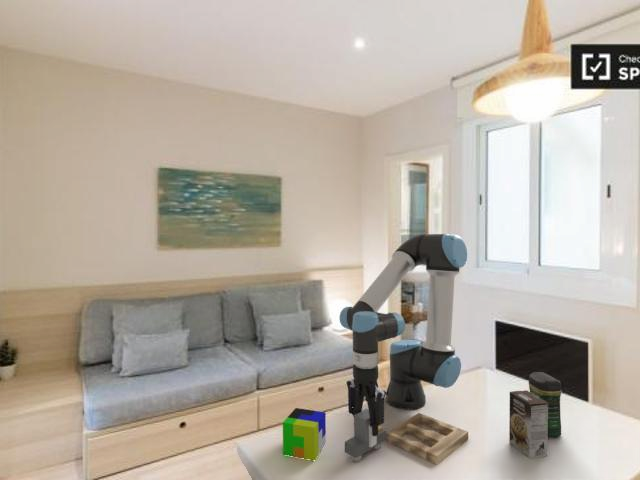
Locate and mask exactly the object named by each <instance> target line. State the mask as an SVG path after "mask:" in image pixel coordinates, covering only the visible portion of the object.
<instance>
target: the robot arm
mask: <svg viewBox="0 0 640 480" xmlns="http://www.w3.org/2000/svg"><path fill="white" fill-rule="evenodd" d="M391 258H392V259H391V260H390V261H389V263H388V264H386V266H385V268H384V269H382V271H381V272H380V274H378V276H377V277H376V278H375V279H374V281H372V283H371V284H370V286H369V287H368V288H367V289H366V290H365V292H364V293H363V294H362V295H361V296H360V298H359V299H358V300H357V302H356V303H355V304H354V305H353V306H345V307H343V308H342V310H341V311H340V313H339V322H340V325H341V327H343V328H344V329H348V330H350V331H352V376H353V378H351V379H349V380H346V385H347V386H346V387H347V393H348V394H347V398H348V399H347V400H348V402H347V403H348V405H347V406H348V407H347V408H348V413H349V414H352V416H353V418H354V415H355V414H357V413H359V412H361V411H363V405H364V399H365V401H366V403H367V408H368V409H367V410H369V415H370V421H371V424H369V447H373V446H374V445H376V444H377V435H378V426H380V425H382V424H384V423H385V401H386V403H387V404H388V405H390V406H392V407H394V408H397V409H402V410H416V409H417V410H418V409H420V408H422V407H423V408H424V406H425V405H426V402H427V401H426V397H427V396H426V394H425V392H424V387H423V384H422V382H425V383H427V384H431V385H434V386H435V387H441V388H445V389H447V388H448V389H449V388H450V387H452V386H453V385H454V384H455V383H456V382H457V380H458V379H459V377H460V374H461V370H462V361H461V358H460V357H459V356H458V355H456V348H455V347H454V345H453V344H452V332H453V331H452V330H453V329H452V328H453V314H454V313H453V312H454V294H455V293H454V292H455V291H454V289H455V278H456V276H457V275H459V273H460V268H462V267H464V266H465V265H466V264H467V263H466V262H467V261H468V250H467V246H466V243H465V241H464V240H463V238H462V237H461V236H459V235H457V234H453V233H452V234H451V233H450V234H448V233H436V234H435V233H429V234H428V233H421V234H416V235H414V236H412V237H410V238H409V239H407V240H406V241H405V242H403V243H402V244H401V245H400V246H398V248H396V250H395V251H394V252H393V253H392V255H391ZM421 265H422V266H423V265H425V270H426V272H427V273H428V274H429V288H428V302H427V303H428V304H427V319H426V337H425V340H424V341H423V343H421V341H420V340H417V339H402V340H397V341H394V342H392V343H391V345H390V347H389V349H390V351H389V382H388V384H387V385H388V386H387V389H386V390H382V389H381V388H380V387H379V385H378V379H379V342H382V341H386V340H389V339H394V338H396V337H398V336H401V335H402V334H404V331H405V329H406V323H405V319H404V318H403V316H402V315H401V314H400V313H398V312H388V313H381V312H379V311H380V309H381V308H382V306H383V305H384V304H385V303H386V301H387V300H388V299H389V297H390V296H391V295H392V293H394V291H395V290H396V289H397V287H398V286H399V284H400V283H401V282H402V280H403V279H404V278H405V277H406V275H407V274H408V273H409V272H412V271H414V270H415V269H416V267H418V266H421Z"/></svg>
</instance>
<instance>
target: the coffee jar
mask: <svg viewBox="0 0 640 480" xmlns="http://www.w3.org/2000/svg"><path fill="white" fill-rule="evenodd" d="M528 387H529V388H528V389H529V392H530V393H532V394H534V395H536V396H537V397H539V398H541V399H543V400H544V401H546V402H548V434H547V438H550V439H555V438H558V437H561V435H562V421H561V395H562V391H563V390H562V383H561V381H560V380H558V379H556V378H555V377H553V376H551V375H549V374H547V373H545V372H543V371H541V372H540V371H538V372H537V371H535V372H534V371H533V372H531V373H530V374H529V378H528Z"/></svg>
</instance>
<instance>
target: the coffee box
mask: <svg viewBox="0 0 640 480" xmlns="http://www.w3.org/2000/svg"><path fill="white" fill-rule="evenodd" d="M508 434H509V438H508V439H509V444H510V445H512V446H514V448H515V449H517V450H518V451H519V452H521V453H523V455H525V456H526V457H527V458H529V459H536V458H542V457H548V437H547V434H548V402H546V401H544V400H543V399H541V398H539V397H537V396H536V395H534V394H532V393H530V390H515V391H514V390H513V391H509V433H508Z"/></svg>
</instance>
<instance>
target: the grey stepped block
mask: <svg viewBox="0 0 640 480" xmlns="http://www.w3.org/2000/svg"><path fill="white" fill-rule="evenodd" d="M369 424H371V421H370V415H369V410H368V409H367V408H366V409H364V410H363V409H362V411H361V412H359V413H357V414H355V415H354V417H353V430H354V431H353V433H354V434H353V437H351V438H349V439H347V440H346V441H344V452H345V454H347V455H349V456H350V460H351V459H352V460H354V461H353V462H355V461H358V462H360V460H361V461H362V455H364V454H365V453H367V452H369V451H371V450H379V449H381V448H382V443H383V442H385V441H386V432H387V429H384V428H383V427H382V426H380V425H379V426H378V435H377V444H376V445H374V446H373V447H369ZM372 448H373V449H372ZM352 460H351V461H352Z"/></svg>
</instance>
